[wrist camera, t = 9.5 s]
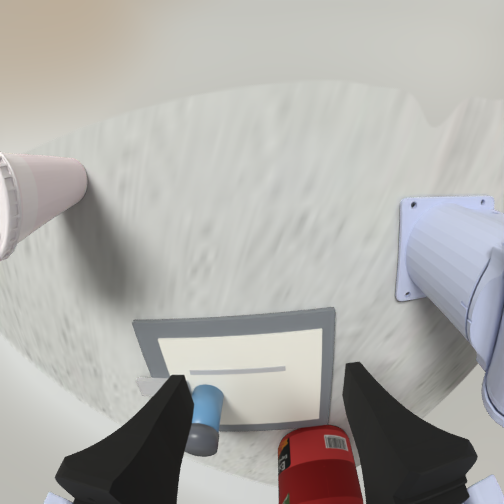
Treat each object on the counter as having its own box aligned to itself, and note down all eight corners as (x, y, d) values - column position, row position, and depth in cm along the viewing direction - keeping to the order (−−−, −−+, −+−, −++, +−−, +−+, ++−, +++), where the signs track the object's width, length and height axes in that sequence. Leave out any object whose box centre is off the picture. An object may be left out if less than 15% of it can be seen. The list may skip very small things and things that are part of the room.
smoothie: (97, 131, 18) (-69, 140, 5) (108, 216, 20) (-38, 304, 7) (36, 151, 19) (-105, 181, 5) (48, 226, 21) (-80, 298, 7)
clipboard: (333, 306, 22) (336, 314, 21) (327, 420, 26) (328, 428, 25) (119, 320, 23) (113, 326, 22) (163, 425, 28) (160, 432, 27)
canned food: (270, 430, 27) (270, 521, 17) (346, 415, 26) (367, 504, 16) (284, 462, 30) (287, 538, 19) (349, 449, 29) (365, 524, 18)
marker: (220, 383, 24) (212, 437, 18) (227, 405, 25) (221, 456, 19) (188, 383, 24) (173, 435, 19) (196, 405, 25) (185, 455, 20)
